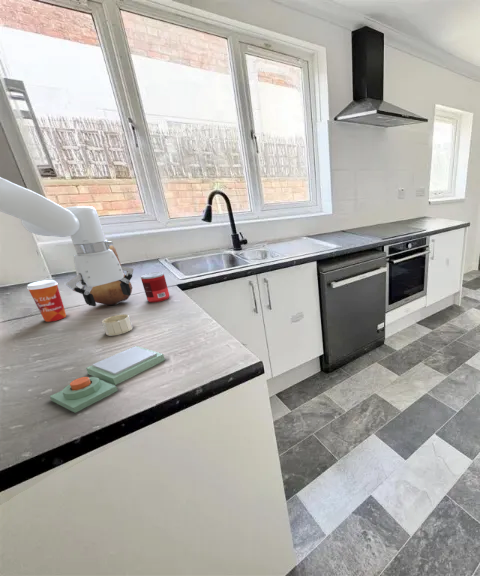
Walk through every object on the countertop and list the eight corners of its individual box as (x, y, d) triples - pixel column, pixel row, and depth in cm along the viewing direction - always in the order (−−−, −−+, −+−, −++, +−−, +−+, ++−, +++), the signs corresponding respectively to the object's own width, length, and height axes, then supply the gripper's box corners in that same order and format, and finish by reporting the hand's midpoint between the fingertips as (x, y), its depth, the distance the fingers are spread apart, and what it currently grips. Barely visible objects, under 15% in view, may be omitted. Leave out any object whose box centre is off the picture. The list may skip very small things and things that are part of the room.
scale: (115, 385, 75) (112, 376, 74) (88, 374, 80) (84, 365, 79) (165, 360, 85) (162, 352, 85) (138, 351, 90) (136, 343, 89)
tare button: (94, 384, 71) (91, 378, 71) (76, 392, 69) (74, 386, 68) (86, 380, 73) (84, 375, 72) (69, 388, 70) (66, 383, 69)
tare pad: (117, 390, 73) (114, 380, 72) (75, 413, 66) (70, 401, 65) (94, 381, 77) (90, 370, 76) (51, 401, 70) (46, 390, 69)
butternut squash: (84, 311, 119) (60, 248, 111) (107, 299, 132) (88, 241, 124) (123, 308, 121) (103, 246, 113) (143, 296, 134) (126, 239, 126)
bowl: (113, 337, 99) (109, 324, 97) (101, 333, 102) (97, 321, 100) (136, 328, 105) (133, 316, 103) (125, 324, 107) (121, 313, 106)
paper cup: (35, 324, 109) (19, 287, 104) (47, 316, 115) (33, 281, 111) (64, 320, 112) (50, 284, 107) (74, 312, 118) (61, 278, 114)
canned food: (173, 295, 135) (167, 271, 131) (164, 301, 128) (157, 276, 124) (154, 296, 134) (147, 272, 130) (143, 303, 126) (136, 277, 123)
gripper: (117, 241, 103) (132, 289, 109) (48, 253, 88) (70, 308, 94) (131, 243, 100) (146, 292, 106) (62, 255, 85) (83, 311, 91)
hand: (110, 299), depth 100 cm, fingers open, 9 cm apart
